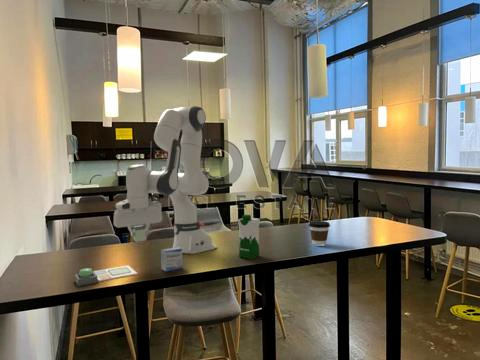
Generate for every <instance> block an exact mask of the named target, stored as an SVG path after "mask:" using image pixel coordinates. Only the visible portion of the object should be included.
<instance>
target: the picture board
mask: <svg viewBox="0 0 480 360" xmlns="http://www.w3.org/2000/svg"><path fill="white" fill-rule="evenodd" d="M93 271H94V272H95V273H96V275H97V277H98V282H99V283H100V282H104V281H109V280H110V281H111V280H115V279H116V280H117V279H120V278H126V277H131V276H137V275H138V272H137V271H135V269H133V268H132V267H131V266H130V265H128V264H127V265H122V266H116V267H110V268H105V269H100V270H93Z"/></svg>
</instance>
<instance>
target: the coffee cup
mask: <svg viewBox="0 0 480 360" xmlns="http://www.w3.org/2000/svg"><path fill="white" fill-rule="evenodd" d="M330 226H331V224H330V222H328V221H325V220H313V221H309V223H308V227H309V228H310V230H309V232H310V236H311V240H312V241H311V242H312V245H313V244H317V245H322V244H326V243H327V240H328V235H329V228H330Z"/></svg>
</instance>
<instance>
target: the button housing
mask: <svg viewBox="0 0 480 360" xmlns="http://www.w3.org/2000/svg"><path fill="white" fill-rule="evenodd" d="M94 271H95V270H92V276H91V277H85V278H80V273H76V274H74V282H75V283H76V285H77V286H78V287H80V286H86V285H90V284H91V285H92V284H96V283H98V282H99V281H98V277H97V275H96V273H95V272H94Z"/></svg>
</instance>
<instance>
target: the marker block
mask: <svg viewBox="0 0 480 360" xmlns="http://www.w3.org/2000/svg"><path fill="white" fill-rule="evenodd" d="M145 228H146V226H144V224H143V225H135V226H132V231H134V232H135V236H132V237H133V238H132V239H133V241H134V242H135V243H139V242H146V240H147V238H146V234H145Z"/></svg>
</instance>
